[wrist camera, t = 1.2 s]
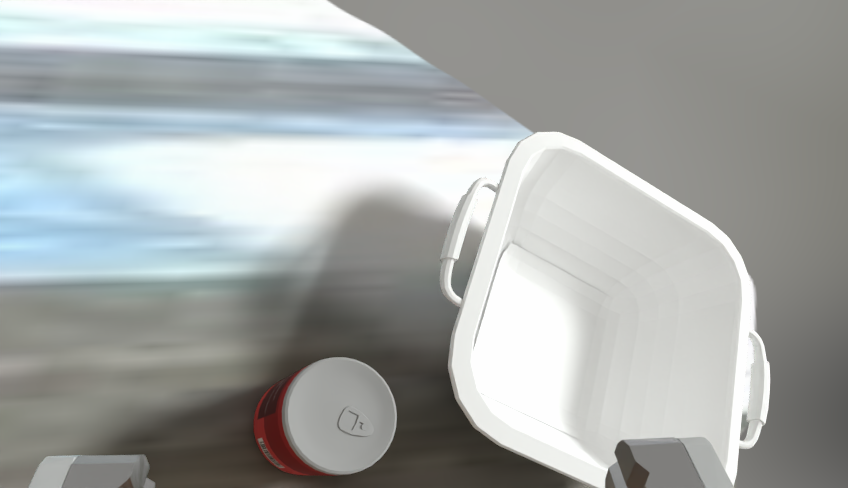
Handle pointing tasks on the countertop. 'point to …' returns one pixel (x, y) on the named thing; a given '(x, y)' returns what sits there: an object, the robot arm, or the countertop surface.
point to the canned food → (326, 419)
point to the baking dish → (598, 316)
